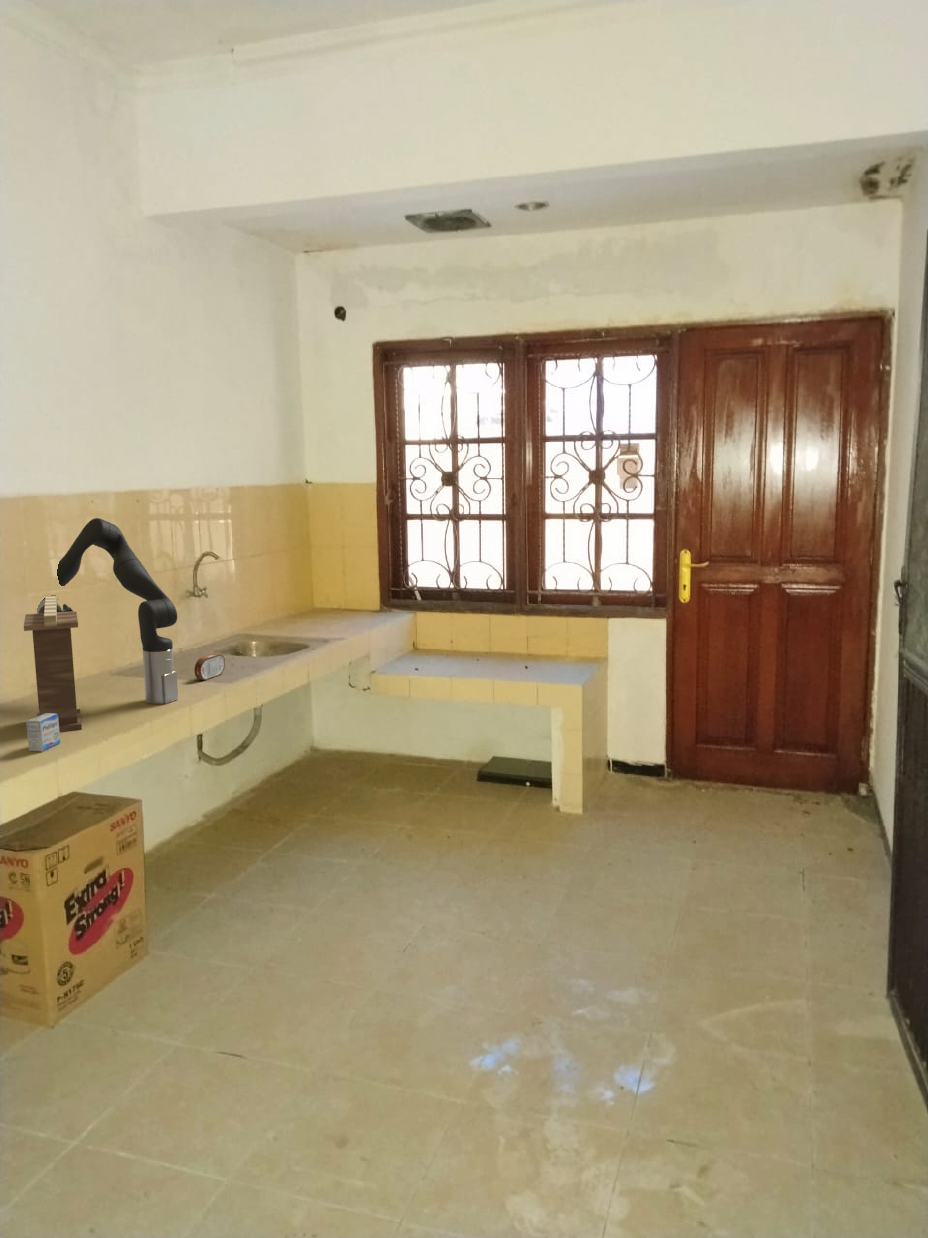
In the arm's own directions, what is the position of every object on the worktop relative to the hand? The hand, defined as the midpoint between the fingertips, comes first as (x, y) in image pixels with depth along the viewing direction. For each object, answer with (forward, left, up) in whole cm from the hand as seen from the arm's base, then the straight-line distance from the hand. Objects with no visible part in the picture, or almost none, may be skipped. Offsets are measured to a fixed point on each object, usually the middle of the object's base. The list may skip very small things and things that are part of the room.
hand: (59, 633), depth 292 cm
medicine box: (-31, +39, -23) cm, 54 cm away
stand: (-18, +20, -22) cm, 35 cm away
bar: (-13, +16, +10) cm, 23 cm away
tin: (-25, -44, -23) cm, 55 cm away
